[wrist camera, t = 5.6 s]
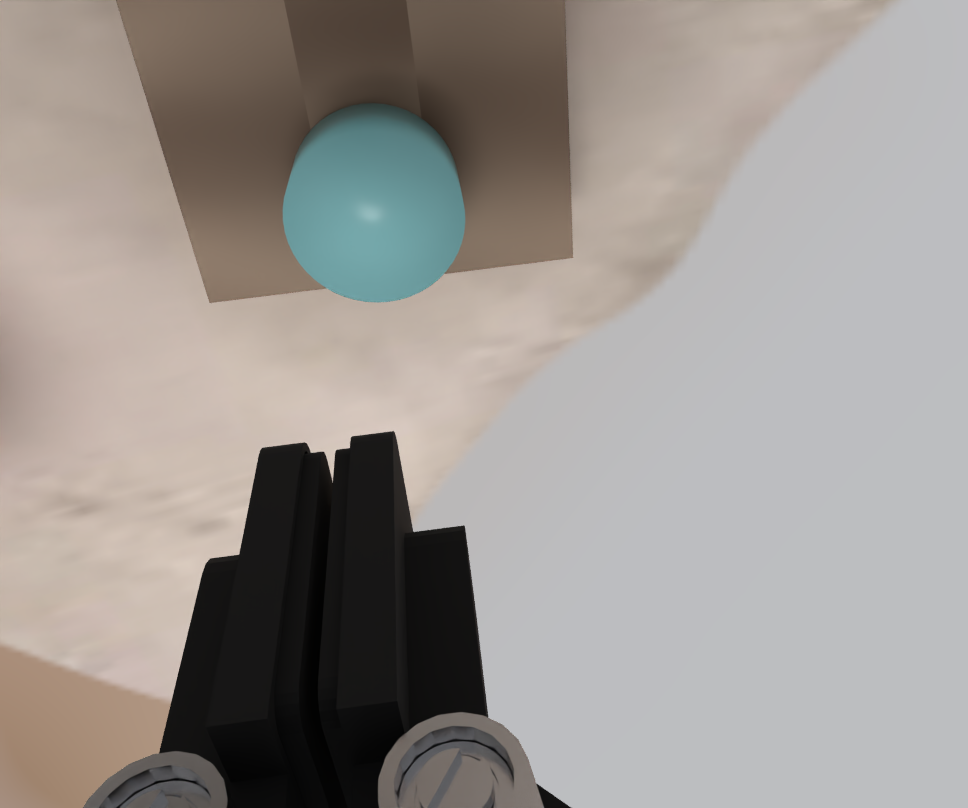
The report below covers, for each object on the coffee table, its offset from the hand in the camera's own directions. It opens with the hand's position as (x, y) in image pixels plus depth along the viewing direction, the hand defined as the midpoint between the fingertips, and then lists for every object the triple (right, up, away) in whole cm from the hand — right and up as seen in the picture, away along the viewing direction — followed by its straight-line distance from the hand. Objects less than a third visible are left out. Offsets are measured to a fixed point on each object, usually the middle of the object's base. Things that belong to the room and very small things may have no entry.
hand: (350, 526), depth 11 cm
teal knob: (-2, +10, +16) cm, 19 cm away
